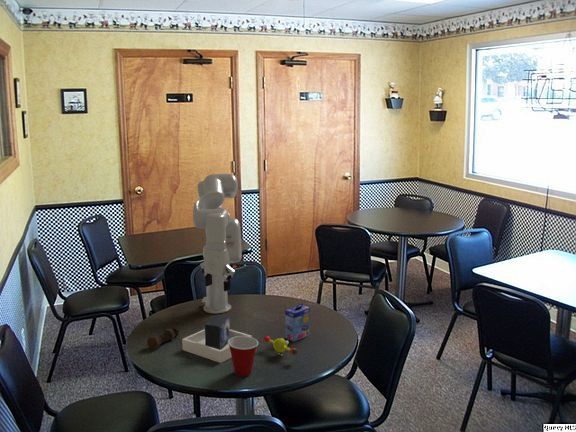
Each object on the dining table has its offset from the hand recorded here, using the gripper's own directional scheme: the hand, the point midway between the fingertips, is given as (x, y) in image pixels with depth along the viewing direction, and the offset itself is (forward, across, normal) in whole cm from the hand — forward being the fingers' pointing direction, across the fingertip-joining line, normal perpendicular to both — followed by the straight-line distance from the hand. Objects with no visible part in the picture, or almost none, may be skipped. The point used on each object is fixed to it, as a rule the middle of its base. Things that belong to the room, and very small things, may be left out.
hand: (217, 287), depth 227 cm
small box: (+22, +2, -4) cm, 23 cm away
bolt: (+24, -19, -12) cm, 33 cm away
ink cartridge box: (+24, +21, +23) cm, 39 cm away
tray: (+23, +2, -4) cm, 24 cm away
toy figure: (+23, +26, +5) cm, 36 cm away
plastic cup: (+23, +25, -14) cm, 36 cm away
